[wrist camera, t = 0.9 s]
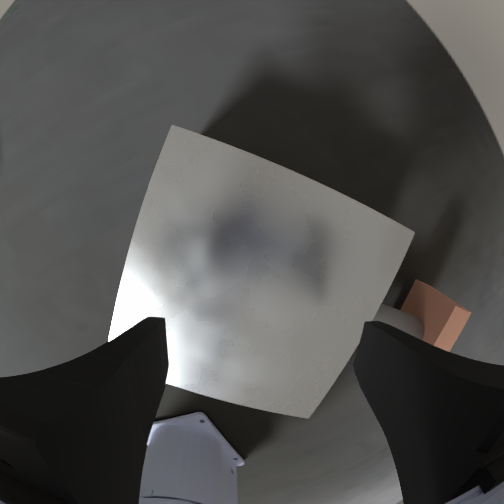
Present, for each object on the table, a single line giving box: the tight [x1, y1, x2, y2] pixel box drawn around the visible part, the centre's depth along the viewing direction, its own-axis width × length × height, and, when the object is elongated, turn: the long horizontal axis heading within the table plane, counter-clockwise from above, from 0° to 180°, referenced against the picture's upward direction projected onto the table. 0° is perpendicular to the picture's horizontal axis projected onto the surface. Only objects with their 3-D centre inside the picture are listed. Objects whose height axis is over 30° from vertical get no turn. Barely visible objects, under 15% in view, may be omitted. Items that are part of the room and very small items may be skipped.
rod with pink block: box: [372, 279, 471, 352], centre depth 17 cm, size 7×19×5 cm, turn 68°
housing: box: [109, 125, 415, 419], centre depth 16 cm, size 12×12×7 cm
